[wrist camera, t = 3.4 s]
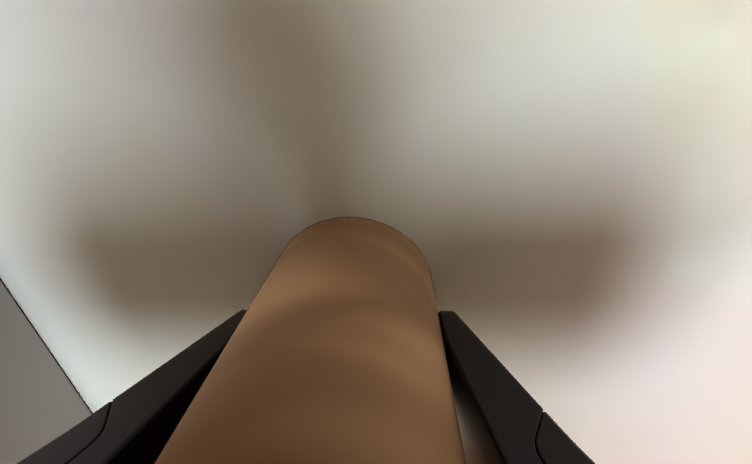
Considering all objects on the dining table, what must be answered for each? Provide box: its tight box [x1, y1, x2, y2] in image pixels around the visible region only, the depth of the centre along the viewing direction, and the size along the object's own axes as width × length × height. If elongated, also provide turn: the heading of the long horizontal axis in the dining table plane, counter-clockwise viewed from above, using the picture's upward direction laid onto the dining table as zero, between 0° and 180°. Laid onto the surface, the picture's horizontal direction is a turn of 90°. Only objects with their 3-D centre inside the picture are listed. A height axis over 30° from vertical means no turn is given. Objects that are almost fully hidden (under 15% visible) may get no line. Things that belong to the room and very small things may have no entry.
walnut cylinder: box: [155, 217, 466, 464], centre depth 7 cm, size 5×5×7 cm
